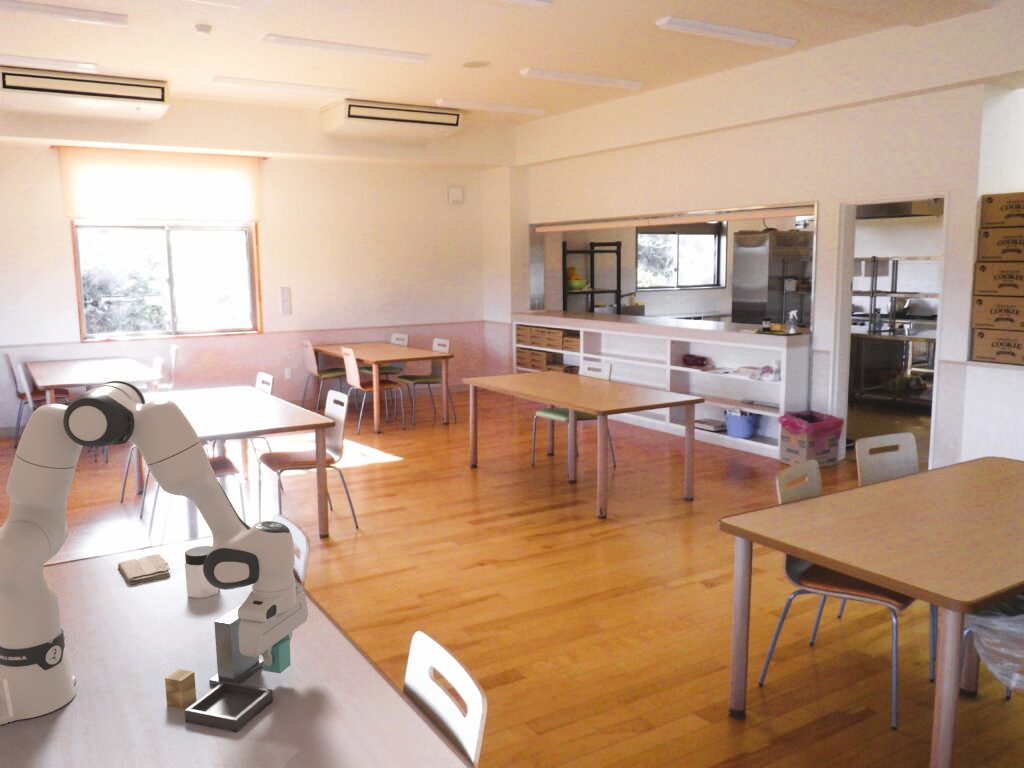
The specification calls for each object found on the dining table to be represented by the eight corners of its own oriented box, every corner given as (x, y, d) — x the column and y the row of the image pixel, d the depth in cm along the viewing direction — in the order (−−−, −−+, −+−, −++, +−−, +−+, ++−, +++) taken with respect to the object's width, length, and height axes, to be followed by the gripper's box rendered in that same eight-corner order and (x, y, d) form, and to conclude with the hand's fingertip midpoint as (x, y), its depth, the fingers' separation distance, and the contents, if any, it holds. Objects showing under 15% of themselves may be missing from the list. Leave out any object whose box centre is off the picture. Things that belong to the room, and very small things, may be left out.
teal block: (263, 670, 177) (262, 644, 176) (274, 662, 180) (273, 636, 179) (279, 673, 175) (278, 646, 174) (290, 665, 179) (289, 638, 178)
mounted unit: (209, 684, 178) (205, 622, 175) (241, 661, 188) (237, 602, 186) (233, 689, 176) (229, 626, 174) (264, 665, 186) (260, 605, 184)
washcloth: (129, 588, 233) (128, 577, 232) (116, 569, 247) (115, 559, 247) (173, 578, 240) (172, 568, 239) (158, 560, 254) (157, 551, 253)
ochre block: (167, 705, 170) (164, 678, 169) (180, 695, 173) (178, 669, 172) (182, 708, 168) (180, 681, 167) (196, 698, 172) (194, 671, 171)
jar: (217, 597, 224) (214, 555, 222) (185, 600, 222) (182, 557, 221) (221, 585, 233) (218, 544, 231) (190, 587, 231) (187, 546, 229)
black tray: (185, 721, 163) (184, 710, 163) (224, 692, 175) (223, 680, 174) (236, 732, 160) (235, 720, 159) (273, 701, 171) (272, 689, 170)
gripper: (289, 577, 186) (291, 635, 188) (231, 613, 167) (234, 678, 169) (314, 581, 184) (315, 639, 186) (258, 618, 165) (261, 683, 167)
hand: (276, 658), depth 177 cm, fingers closed on teal block, 4 cm apart
